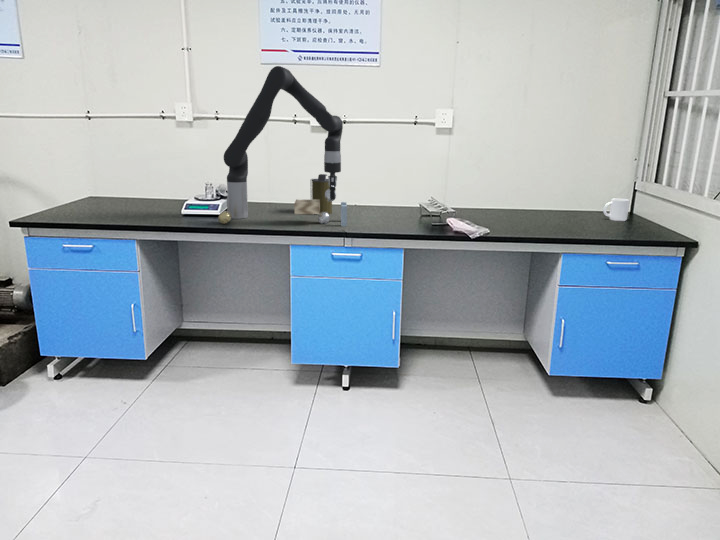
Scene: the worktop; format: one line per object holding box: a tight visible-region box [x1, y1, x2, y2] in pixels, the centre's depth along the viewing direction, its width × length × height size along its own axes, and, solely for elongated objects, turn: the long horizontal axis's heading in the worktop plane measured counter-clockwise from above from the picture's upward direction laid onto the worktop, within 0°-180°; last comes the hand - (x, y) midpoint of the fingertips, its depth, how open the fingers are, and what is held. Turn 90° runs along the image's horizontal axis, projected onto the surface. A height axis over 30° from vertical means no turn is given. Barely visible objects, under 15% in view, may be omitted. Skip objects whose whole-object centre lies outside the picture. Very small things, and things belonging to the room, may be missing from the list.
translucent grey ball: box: [317, 211, 330, 225], centre depth 257 cm, size 5×6×5 cm
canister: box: [311, 173, 333, 216], centre depth 280 cm, size 11×10×20 cm
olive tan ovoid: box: [217, 210, 233, 224], centre depth 255 cm, size 5×6×5 cm
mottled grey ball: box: [325, 189, 337, 202], centre depth 255 cm, size 5×6×5 cm
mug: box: [602, 197, 630, 222], centre depth 279 cm, size 12×8×10 cm
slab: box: [293, 199, 320, 215], centre depth 256 cm, size 11×12×5 cm
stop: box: [340, 201, 348, 227], centre depth 257 cm, size 2×14×9 cm, turn 3°
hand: (332, 198), depth 255 cm, fingers closed on mottled grey ball, 5 cm apart
